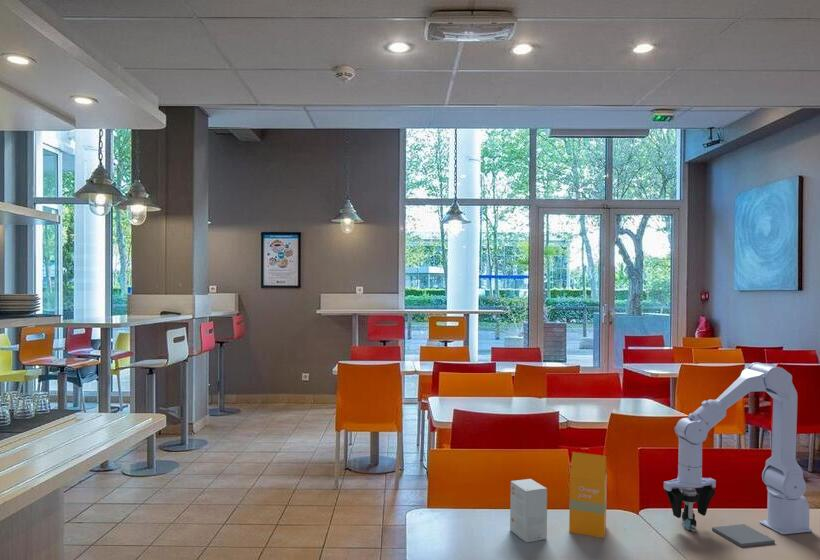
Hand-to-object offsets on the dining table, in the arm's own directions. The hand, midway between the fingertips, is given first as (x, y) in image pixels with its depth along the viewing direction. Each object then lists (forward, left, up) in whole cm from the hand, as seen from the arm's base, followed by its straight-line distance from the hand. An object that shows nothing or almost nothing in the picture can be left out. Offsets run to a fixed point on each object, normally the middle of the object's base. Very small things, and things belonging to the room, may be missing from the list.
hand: (689, 515), depth 159 cm
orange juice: (+27, -5, -4) cm, 28 cm away
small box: (+44, -5, -4) cm, 44 cm away
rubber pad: (-10, +7, -3) cm, 13 cm away
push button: (0, 0, -4) cm, 4 cm away
